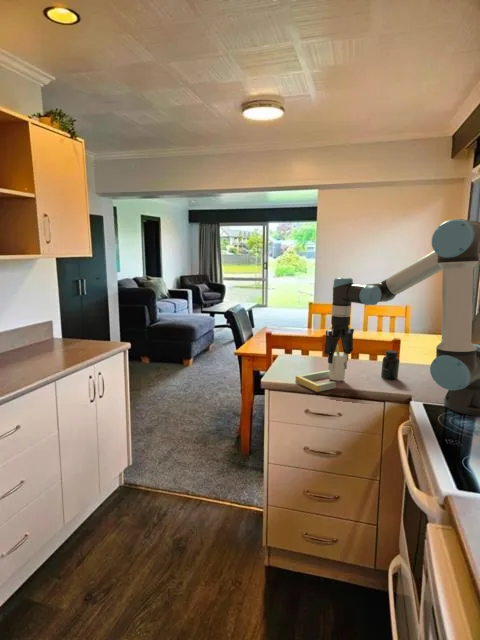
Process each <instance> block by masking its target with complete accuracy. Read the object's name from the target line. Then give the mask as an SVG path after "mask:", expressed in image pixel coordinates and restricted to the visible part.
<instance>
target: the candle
mask: <svg viewBox="0 0 480 640" xmlns="http://www.w3.org/2000/svg"><path fill="white" fill-rule="evenodd" d="M333 356H335V367H334V371H330V373H329V377H328V378H329V379H330V380H331V381H340V382H341V381H344V380H345V375H346V369H345V368H346V365H345V364H346V354H345V353H344V352H340V345H339V343H337V346H336V350H335V352H334V355H333Z"/></svg>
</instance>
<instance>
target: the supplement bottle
mask: <svg viewBox="0 0 480 640" xmlns="http://www.w3.org/2000/svg"><path fill="white" fill-rule="evenodd" d="M398 354H399V352H398V351H397V350H391V349H387V350H385V356H384V357H382V362H381V363H382V364H381V373H380V377H381V378H382V379H383V380H387V381H397V380H398V377H399V369H400V359H399V358H398ZM396 379H397V380H396Z"/></svg>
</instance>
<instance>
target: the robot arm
mask: <svg viewBox="0 0 480 640" xmlns="http://www.w3.org/2000/svg"><path fill="white" fill-rule="evenodd" d="M431 247H432V249H433V250H432V251H431V252H429V253H428V254H426V255H424V256H423V257H421V258H419V259H418V260H416V261H414V262H413V263H411V264H409V265H408V266H406V267H404V268H403V269H400V270H398V271H397V272H396V273H394V274H392V275H391V276H389V277H387V278H386V279H384V280H382V281H380V282H379V283H369V284H368V283H367V284H366V283H365V284H363V283H354V282H353V281H354V280H353V278H352V277H344V276H343V277H335V278H334V280H333V286H332V305H331V318H330V319H331V321H330V322H331V323H330V324H331V326H332V327H331V328H330V329H329V330H326V331H325V335H326V336H325V344H324V352H323V353H324V355H327V356H328V357H327V363H328V370H330V371H334V367H335V356H333V355H334V352H336V350H337V344H339V342H338V341H340V340H341V345H342V350H343V352H342V353H345V354H346V364H345V365H346V368H345V370H347V369H348V361H349V355H351V354H352V353H353V350H354V349H353V348H354V336H353V335H354V332H355V329H354V328H350V327H349V326H350V324H351V313H352V312H351V311H352V303H355V304H361V305H365V306H369V305H370V306H377V304H378V303H383V302H385V303H386V302H389V301H392V300H393V299H395V297H396V296H397V295H399V294H400V293H403V292H404V291H406V290H408V289H410V288H412V287H414V286H416V285H417V284H419V283H421V282H423V281H425V280H426V279H428V278H430V277H433V276H434V275H435V274H438V273H439V272H441V271H442V281H441V283H442V284H441V285H442V286H441V287H442V288H441V289H442V291H441V293H442V294H441V303H442V304H441V340H440V343H439V344H437V345H436V348H435V349H436V352H435V353H436V355H435V356H436V357H434V359H433V360H432V362H431V364H430V366H429V373H430V376H431V378H432V380H433V381H434V382H435V383H436V384H437V386H438V387H441V388H443V389H445V390H446V391H447V392H446V394H445V396H444V399H443V400H444V402H443V406H445V407H446V408H448V409H449V410H450V411H453V412H456V413H458V414H463V415H467V416H473V417H474V416H476V417H480V344H476V343H472V335H473V334H472V329H473V289H474V288H473V287H474V286H473V285H474V281H473V280H474V278H473V277H474V268H475V266H476V265H477V264H478V263H479V261H480V221H475V220H468V219H463V218H456V219H448V220H446V221H443V223H441V224H439V225H438V227H437V228H436V229H435V230H434V232H433V233H432V236H431Z"/></svg>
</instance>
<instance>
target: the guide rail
mask: <svg viewBox="0 0 480 640" xmlns="http://www.w3.org/2000/svg"><path fill="white" fill-rule="evenodd" d="M329 373H330V370H327V369H326V370H323V371H316V372H315V371H314V372H310V373H305V374H304V373H303V374H299V375H295V383H297V384H300V385H302V386H303V387H306V388H308V389H310V390H312V391H314V392H316V393H318V392H324V391H329V390H332V389H333V390H334V389H336V388H337V387H336V386H337V382H336V381H335V380H331V381H330V380H329V381H326V382H322V383H316V382H314V381H315V380H319V379H325V378H329Z"/></svg>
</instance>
